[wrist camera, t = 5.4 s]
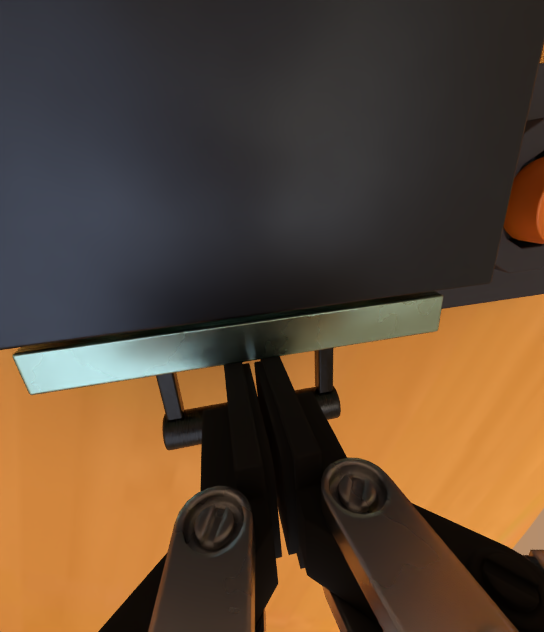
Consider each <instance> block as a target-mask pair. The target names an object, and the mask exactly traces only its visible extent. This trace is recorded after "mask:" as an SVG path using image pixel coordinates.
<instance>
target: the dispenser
mask: <svg viewBox="0 0 544 632" xmlns="http://www.w3.org/2000/svg"><path fill="white" fill-rule="evenodd" d="M543 45H544V0H0V350H3V349H11V348H18V347H25V346H33V345H40V344H48V343H55V342H62V341H70V340H77V339H84V338H92V337H99V336H107V335H114V334H121V333H129V332H136V331H143V330H151V329H158V328H165V327H173V326H180V325H188V324H195V323H202V322H210V321H217V320H224V319H232V318H239V317H247V316H254V315H261V314H269V313H276V312H283V311H291V310H298V309H306V308H313V307H320V306H328V305H335V304H342V303H350V302H357V301H365V300H372V299H379V298H387V297H394V296H401V295H409V294H416V293H423V292H431V291H438V290H446V289H453V288H460V287H468V286H475V285H482V284H489V283H491V281H492V277H493V272H494V268H495V263H496V259H497V254H498V249H499V245H500V240H501V236H502V231H503V227H504V222H505V218H506V213H507V209H508V204H509V199H510V195H511V190H512V186H513V181H514V177H515V172H516V168H517V163H518V158H519V154H520V149H521V145H522V140H523V136H524V131H525V127H526V122H527V117H528V113H529V108H530V104H531V99H532V95H533V90H534V86H535V81H536V77H537V72H538V67H539V63H540V58H541V54H542V49H543Z"/></svg>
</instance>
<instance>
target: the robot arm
mask: <svg viewBox="0 0 544 632" xmlns="http://www.w3.org/2000/svg"><path fill="white" fill-rule="evenodd" d="M254 365H255V375H256V385H257V393H256V389H255V385H254V381H253V377H252V373H251V369H250V365H249V363H247V364H242V362H239V363H232V364H226V365H224V370H225V380H226V390H227V400H228V406H225V407H219V408H214V409H208V410H203V412H202V452H201V492H199V493H197V494H196V495H194V496H193V497H192V498H191V499H190V500H188V501H187V502H186V504H185V505H184V506H183V508H182V509H181V511H180V512H179V514H178V517H177V519H176V522H175V525H174V529H173V533H172V537H171V541H170V545H169V549H168V553H167V554H166V555H165V556H164V557H163V558H162V559H161V561H160V562H159V563H158V564H157V565H156V566H155V567H154V569H153V570H152V571H151V572H150V573H149V574H148V575H147V577H146V578H145V579H144V580H143V581H142V582H141V583H140V585H139V586H138V587H137V588H136V589H135V590H134V591H133V593H132V594H131V595H130V596H129V597H128V598H127V600H126V601H125V602H124V603H123V604H122V605H121V606H120V608H119V609H118V610H117V611H116V612H115V613H114V614H113V616H112V617H111V618H110V619H109V620H108V621H107V622H106V624H105V625H104V626H103V627H102V628H101V629H100V630H99V632H266V613H265V607H266V605H267V603H268V601H269V599H270V598H271V596H272V594H273V592H274V590H275V588H276V586H277V585H278V576H277V566H276V558H279V557H282V551H281V540H280V528H279V517H278V510H279V515H280V519H281V524H282V528H283V533H284V537H285V542H286V546H287V550H288V554H289V555H291V554H295V553H297V556H298V560H299V564H300V568H301V569H302V568H305V569H306V572H307V575H308V576H309V577H310V578H312V579H313V580H315V581H316V582H318V583H319V584H321V585H322V586H323V590H324V593H325V597H326V599H327V601H328V604H329V606H330V608H331V611H332V613H333V615H334V618H335V620H336V622H337V625H338V627H339V629H340V632H544V550H531V551H530V553H529V555H521V554H519V553H517V552H516V551H514V550H512V549H510V548H509V547H507V546H505V545H502V544H500V543H498V542H496V541H494V540H491V539H489V538H487V537H485V536H483V535H481V534H478V533H476V532H474V531H472V530H470V529H467V528H465V527H463V526H461V525H459V524H456V523H454V522H452V521H450V520H448V519H445V518H443V517H441V516H439V515H437V514H434V513H432V512H430V511H428V510H426V509H423V508H421V507H419V506H417V505H415V504H412V503H411V502H410V501H409V500H408V499H407V497H406V496H405V495H404V494H403V493H402V491H401V490H400V489H399V488H398V487H397V486H396V484H395V483H394V482H393V481H392V480H391V478H390V477H389V476H388V475H387V474H386V473H385V472H384V471H383V470H382V469H381V468H380V467H378V466H377V465H375V464H373V463H371V462H369V461H366V460H363V459H360V458H347V457H346V455H345V453H344V451H343V449H342V447H341V445H340V443H339V442H338V440H337V438H336V436H335V434H334V432H333V430H332V428H331V426H330V425H329V423H328V421H327V419H326V417H325V415H324V413H323V411H322V409H321V407H320V406H319V404H318V402H317V400H316V398H315V396H314V394H313V393H312V392H311V391H309V392H303V393H298V394H296V393H295V391H294V388H293V386H292V384H291V381H290V379H289V377H288V375H287V372H286V370H285V368H284V366H283V363H282V361H281V359H280V357H279V356H277V357H270V358H264V359H260V361H259V362H255V363H254ZM257 394H258V397H257Z"/></svg>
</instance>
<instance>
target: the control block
mask: <svg viewBox="0 0 544 632" xmlns="http://www.w3.org/2000/svg"><path fill="white" fill-rule="evenodd" d="M542 157H544V63H539V67H538V72H537V77H536V81H535V86H534V90H533V95H532V99H531V104H530V108H529V113H528V117H527V122H526V127H525V131H524V136H523V140H522V145H521V149H520V154H519V158H518V163H517V168H516V172H515V177H516V175H517V174H518V173H519V172H520V171H521V170H522V169H523V168H524V167H525V166H526V165H528V164H529V163H531V162H533V161H534V160H537V159H539V158H542ZM515 177H514V178H515ZM435 292H437V293H439V294H441V295H443V302H442V308H441V309H443V308H450V307H457V306H464V305H471V304H478V303H485V302H491V301H498V300H505V299H512V298H519V297H526V296H533V295H539V294H544V244H539V243H533V242H527V241H521V240H517V239H514V238H512V237H511V236H510V235H509V234H508V233H507V232H506V231H505V229H504V227H503V231H502V236H501V240H500V245H499V249H498V254H497V259H496V263H495V268H494V272H493V277H492V281H491V283H489V284H482V285H475V286H468V287H460V288H453V289H446V290H438V291H435Z"/></svg>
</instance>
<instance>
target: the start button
mask: <svg viewBox="0 0 544 632" xmlns="http://www.w3.org/2000/svg"><path fill="white" fill-rule="evenodd" d="M504 229H505V231H506V232H507V233H508V234H509V235H510V236H511V237H512V238H514V239H517V240H521V241H527V242H533V243H539V244H544V157H542V158H539V159H537V160H534V161H533V162H531V163H529V164H528V165H526V166H525V167H524V168H523V169H522V170H521V171H520V172H519V173H518V174H517V175H516V177H515V178H514V181H513V186H512V190H511V195H510V199H509V204H508V209H507V213H506V218H505V222H504Z"/></svg>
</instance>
